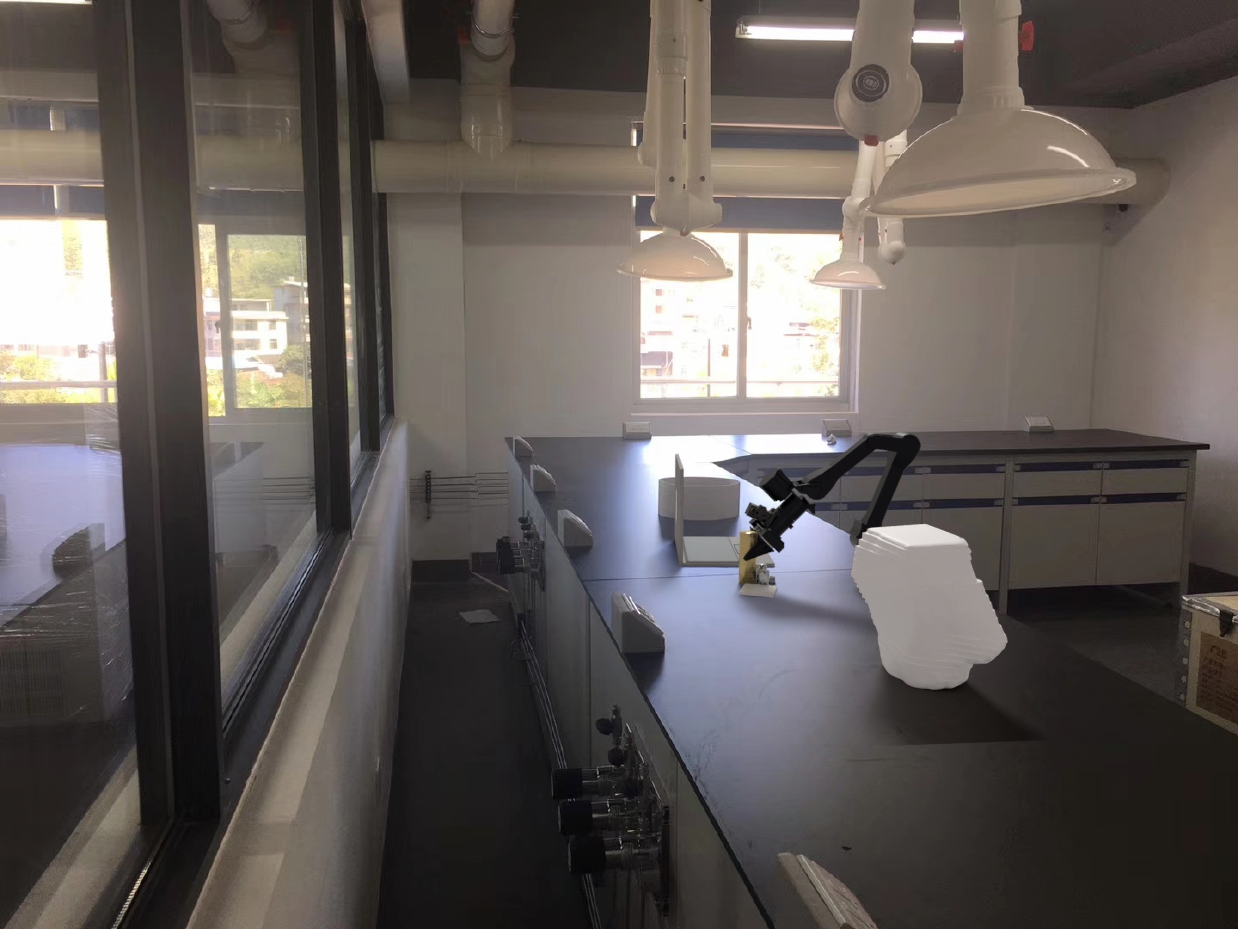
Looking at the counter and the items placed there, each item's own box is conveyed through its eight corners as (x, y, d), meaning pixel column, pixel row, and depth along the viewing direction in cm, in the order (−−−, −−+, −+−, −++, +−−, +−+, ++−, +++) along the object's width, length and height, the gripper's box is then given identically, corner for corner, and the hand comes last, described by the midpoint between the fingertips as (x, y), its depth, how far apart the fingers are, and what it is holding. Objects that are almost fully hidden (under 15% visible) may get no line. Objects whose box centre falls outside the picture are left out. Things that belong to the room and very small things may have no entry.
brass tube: (757, 581, 237) (758, 531, 235) (754, 585, 233) (755, 534, 231) (740, 580, 238) (741, 530, 236) (737, 584, 234) (738, 533, 232)
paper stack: (941, 650, 184) (947, 522, 180) (1008, 702, 157) (1016, 554, 154) (837, 653, 182) (841, 524, 179) (887, 706, 155) (893, 556, 152)
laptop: (774, 568, 252) (776, 469, 249) (678, 567, 253) (679, 469, 249) (758, 541, 287) (760, 454, 283) (674, 540, 287) (674, 453, 284)
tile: (777, 588, 229) (777, 585, 229) (773, 597, 222) (773, 594, 222) (744, 586, 232) (745, 583, 232) (739, 594, 224) (739, 591, 224)
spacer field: (777, 578, 239) (777, 563, 239) (772, 588, 230) (772, 572, 229) (746, 576, 242) (746, 561, 241) (739, 585, 232) (740, 570, 232)
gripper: (757, 486, 242) (715, 528, 243) (772, 498, 223) (726, 543, 224) (786, 515, 243) (744, 557, 244) (803, 530, 225) (757, 574, 226)
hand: (742, 557), depth 234 cm, fingers open, 5 cm apart
